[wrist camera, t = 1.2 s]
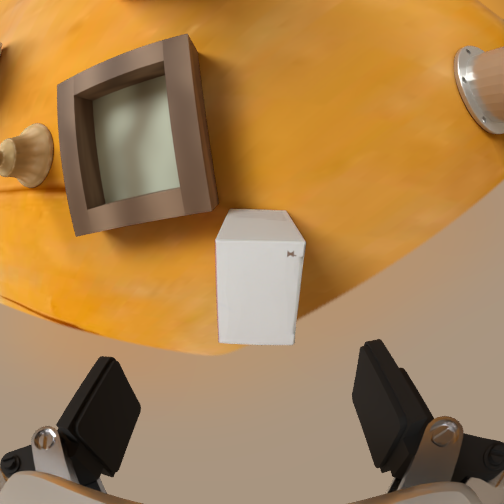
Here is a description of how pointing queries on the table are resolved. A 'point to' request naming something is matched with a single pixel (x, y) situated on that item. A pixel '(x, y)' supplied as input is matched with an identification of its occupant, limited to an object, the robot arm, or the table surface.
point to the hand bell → (27, 155)
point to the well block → (136, 139)
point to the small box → (258, 277)
